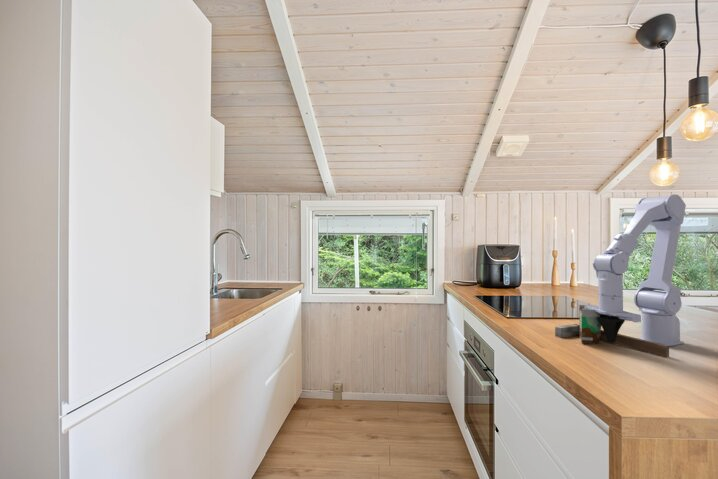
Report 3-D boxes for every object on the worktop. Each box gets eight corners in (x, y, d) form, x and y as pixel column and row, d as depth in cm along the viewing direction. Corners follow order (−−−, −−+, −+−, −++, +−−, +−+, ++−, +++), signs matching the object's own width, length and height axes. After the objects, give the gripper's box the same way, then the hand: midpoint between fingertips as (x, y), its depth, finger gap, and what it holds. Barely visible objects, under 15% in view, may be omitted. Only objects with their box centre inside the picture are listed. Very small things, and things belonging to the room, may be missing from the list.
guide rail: (575, 332, 115) (575, 323, 115) (669, 356, 91) (669, 345, 91) (555, 336, 112) (555, 326, 112) (646, 361, 87) (646, 350, 87)
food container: (607, 346, 99) (607, 311, 99) (581, 343, 102) (581, 309, 102) (602, 338, 109) (602, 306, 110) (579, 335, 112) (579, 304, 113)
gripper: (577, 292, 105) (577, 337, 105) (628, 299, 92) (629, 351, 91) (592, 291, 108) (593, 334, 108) (645, 298, 94) (646, 347, 94)
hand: (611, 342), depth 100 cm, fingers closed
